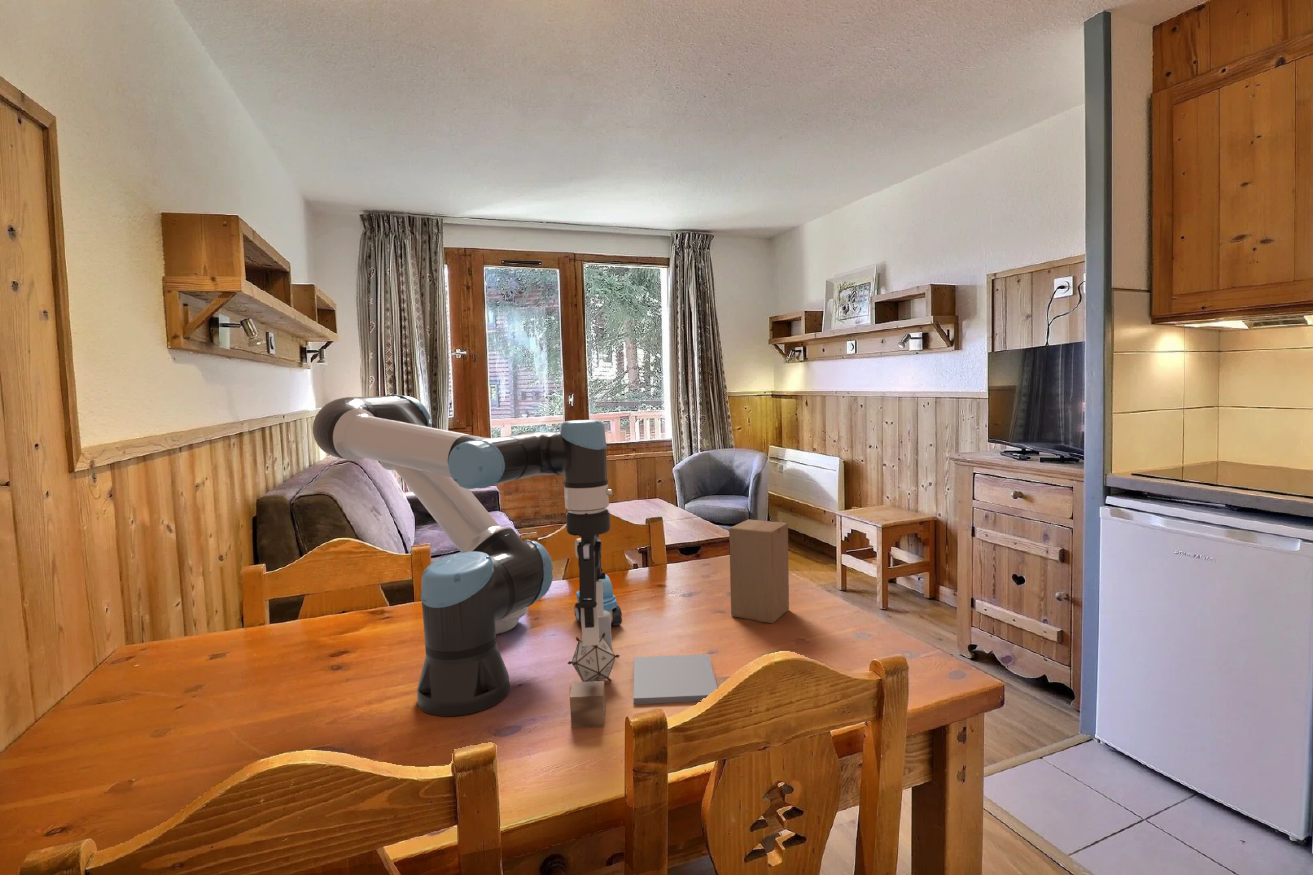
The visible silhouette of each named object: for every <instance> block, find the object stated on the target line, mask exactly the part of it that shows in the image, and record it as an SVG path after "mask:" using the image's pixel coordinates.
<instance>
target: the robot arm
mask: <svg viewBox="0 0 1313 875" xmlns="http://www.w3.org/2000/svg"><path fill="white" fill-rule="evenodd" d="M430 420H431V416H430V413H429V411H428V409H427V408H426V406H425V405H424V404H423V403H422V402H420V401H419V400H418V399H416V398H414V397H412V396H408V395H400V394H386V395H382V396H381V395H379V396H377V395H375V396H354V397H353V396H352V397H351V396H349V397H340V398H336V399H333V400H332V401H330V402H328V403H326V404H325V405H324V406H322V407H321V408H320V410H318V412H317V414H316V415H315V417H314V419H313V424H312V434H313V438H314V441H315V443H316V445H317V446H318V447H319V449H321V451H323V452H324V453H326V454H327V455H329V456H331V457H335V458H338V459H343V460H346V461H353V462H354V461H355V462H356V461H361V460H363V459H369V460H373V461H376V462H378V463H379V464H380V466H381V467H382V468H383V469H384V470H387V471H396V473H397V474H398V475H399V477H400V478H401V479H402V480H403V482H404V483H405V484H406V485H407V487H408V488H409V490H410V491H411V492H412V493H413V494H414V496H415V497H416V498H417V499H418V500H419V502H420V503H421V504H422V505H423V507H424V508H425V509H426V510H427V512H428V513H429V514H430V515H431V517H432V518H433V519H434V520H435V522H437V525H438V526H439V527H440V529H441V530H443V532H444V533H445V534H446V536H447V537H448V538H449V540H450V541H451V542H452V543H453V544H454V546H455V547H456V548H457V549H458V551H460V552H459V553H457V554H450V555H446V556H443V557H441V558H439V559H436V560H435V561H433V562H431V563H430V564H429V565H428V566H427V567H426V568H424V570H423V572H422V575H421V590H420V600H421V609H422V620H423V621H422V622H423V631H424V632H423V633H424V635H423V636H424V647H425V649H424V650H425V656H424V657H425V658H424V662H423V666H422V669H421V673H420V676H419V680H418V684H417V687H416V697H417V698H416V699H417V705H418V707H419V709H420V710H421V711H423V712H425V713H426V714H430V715H433V716H440V717H441V716H442V717H455V716H456V717H458V716H465V715H470V714H473V713H474V714H475V713H478V712H480V711H483V710H486V709H488V708H491V707H493V706H495V705H496V704H498V703H500V702H501V701H502V700H504V699H505V698H506V697H507V695H508V694H509V692H510V689H511V688H510V675H509V672H508V670H507V669H508V668H507V666H506V665H505V662H504V660H503V657H502V655H501V652H500V650H499V648H498V644H497V643H498V642H497V640H498V639H497V634H496V621H498V620H500V619H502V618H504V617H506V616H508V615H510V614H512V613H514V612H516V611H518V610H520V609H522V608H524V607H527V608H528V607H530V606H532V605H534V604H535V603H536V602H537V601H540V600H541V599H542V598H543V597H544V596H545V595H546V594H547V593H548V592H549V590H550V588H551V586H552V582H553V580H554V579H553V577H554V575H553V571H554V570H553V569H554V568H553V562H552V557H551V556H550V553H549V552H548V550H547V549H546V548H545V546H544V545H543V544H541V543H540V542H537V541H536V540H530V539H524V540H523V539H522V538H521V537H520V536H519V535H518V533H517V532H516V531H515V530H514V529H513V528H512V527H510V526H501V525H500V524H499V523H498V522H497V521H496V520H495V519H494V518H493V516H492V515H491V514H490V513H489V511H488V510H487V508H485V507H484V505H483V504H482V503H481V502H480V501H479V499H478V498H477V497H476V496H475V494H474V493H473V492H472V491H471V490H473V489H486V488H489V487H492V486H494V485H495V486H496V485H500V484H502V483H507V482H511V481H515V480H521V479H525V478H529V477H530V478H531V477H534V476H538V475H540V476H541V475H542V476H543V475H545V476H546V475H548V476H549V475H553V476H555V475H556V476H563V492H564V493H563V494H564V495H563V496H564V508H565V509H566V510H567V512H566V513H565V521H566V522H565V523H566V526H565V527H566V532H567V533H568V534H569V535H571V536H578V537H579V538H581V541H579V545H577V552H578V555H579V558H577V559H578V560H577V562H578V570H579V572H578V573H579V574H578V575H579V576H578V578H579V579H578V580H579V584H578V586H579V588H578V589H579V590H578V591H579V595H580V602H576V603H575V604H576V608H581V622H580V624H581V623H582V626H581V637H582V639H581V640H582V642H583V646H591V645H599V625H598V616H604V608H603V588H602V580H600V581H599V579H605V578H606V576H605V574H606V573H605V572H603V568H602V548H603V547H602V543H603V542H602V540H600V537H599V536H600V535H603V534H606V533H608V532H609V531H611V530H610V529H611V515H610V510H609V509H608V507H609V505H610V502H609V501H610V500H609V496H610V495H612V494H613V490H612V489H610V488H609V484H608V458H607V448H608V444H607V441H606V440H607V439H606V430H605V429H606V428H605V425H604V423H603V422H602V421H601V420H600V419H577V420H575V419H574V420H566V421H563V422H562V423H561V426H560V431H557V432H547V431H546V432H545V431H544V432H543V431H541V432H540V431H535V432H534V431H529V430H527V431H522V432H521V431H520V432H515V433H511V434H510V435H506V436H499V437H484V436H478V435H473V434H472V435H470V434H466V433H463V432H458V431H452V430H447V429H440V428H436V427H433V423H432V422H430ZM584 599H588V600H584Z"/></svg>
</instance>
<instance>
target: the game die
mask: <svg viewBox="0 0 1313 875" xmlns="http://www.w3.org/2000/svg"><path fill="white" fill-rule="evenodd" d="M604 636H605V633H603V635H602V637H599V645H591V646H583V642H582V639H581V640H580V638H579V637H577V636H576V637H575V641H577V642H578V643H577V645H576V646H575V651H574V654H573V656H572V660H569V661H568V662H567V664H568V665H572V666H573V668H574V670H575V672H576V673H577V674H578V676H579V678H580V680H581V682H590V681H604V680H607V682H609V683H612V679H611V678H610V674H611V672H612V668H613V667H614V666H613V665H614V663H615V661H616V660H615V659H616V658H618V659H619V657H621V655H620V654H615V652H614V651H613V650H611V648H610V646H609V645H608V643H607V642H606V640H605V639H604Z"/></svg>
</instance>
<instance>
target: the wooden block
mask: <svg viewBox="0 0 1313 875" xmlns="http://www.w3.org/2000/svg"><path fill="white" fill-rule="evenodd" d="M728 530H729V531H728V532H729V534H728V535H729V572H730V573H729V574H730V576H729V577H730V578H729V581H730V582H729V584H730V616H731V617H734V618H735V617H736V618H739V619H740V618H741V619H746V620H751V621H758V622H763V623H768V624H774V623H775V622H776V621H777V620H778V619H779V618H780V617H782V616H783V615H784V614H786V612H788V611H789V609H790V592H789V591H790V588H789V587H790V585H789V584H790V583H789V582H790V581H789V580H790V579H789V574H790V573H789V526H788V523H787V522H780V521H770V520H759V519H746V520H744V521H741V522H740V523H737V524H735V525H733V526H731V527H729V529H728Z"/></svg>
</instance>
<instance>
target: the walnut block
mask: <svg viewBox="0 0 1313 875" xmlns="http://www.w3.org/2000/svg"><path fill="white" fill-rule="evenodd" d="M605 686H606V685H605V681H604V680H597V681H590V682H583V681H575V682H574V681H573V682H572V686H571V690H570V695H569V704H570V705H569V707H570V708H569V709H570V728H571V729H581V728H584V729H585V728H604V727H605V723H606V722H605V721H606V719H605V718H606V711H607V710H606V692H605V691H606V689H605Z"/></svg>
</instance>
